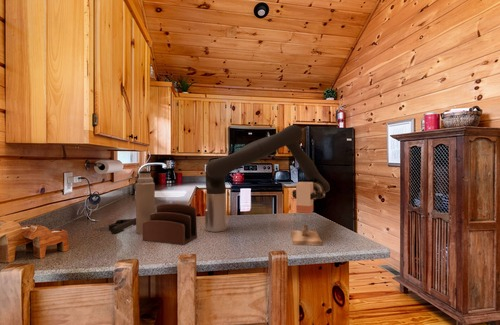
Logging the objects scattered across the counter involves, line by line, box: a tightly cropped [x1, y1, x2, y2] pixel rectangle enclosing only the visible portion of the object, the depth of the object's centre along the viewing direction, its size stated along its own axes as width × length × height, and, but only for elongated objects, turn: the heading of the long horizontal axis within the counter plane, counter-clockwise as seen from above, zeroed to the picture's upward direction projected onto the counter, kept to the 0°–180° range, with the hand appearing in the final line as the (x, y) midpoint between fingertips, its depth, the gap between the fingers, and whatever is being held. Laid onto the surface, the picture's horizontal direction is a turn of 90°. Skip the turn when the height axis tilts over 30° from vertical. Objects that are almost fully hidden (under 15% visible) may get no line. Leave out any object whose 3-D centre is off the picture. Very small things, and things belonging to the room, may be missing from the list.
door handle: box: [93, 217, 136, 235], centre depth 119 cm, size 3×20×16 cm
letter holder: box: [142, 203, 198, 246], centre depth 101 cm, size 10×20×14 cm, turn 73°
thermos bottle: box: [135, 170, 156, 235], centre depth 112 cm, size 8×8×28 cm
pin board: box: [290, 224, 323, 246], centre depth 99 cm, size 11×14×6 cm
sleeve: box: [295, 181, 314, 215], centre depth 99 cm, size 6×6×12 cm
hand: (303, 196), depth 97 cm, fingers closed on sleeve, 5 cm apart
